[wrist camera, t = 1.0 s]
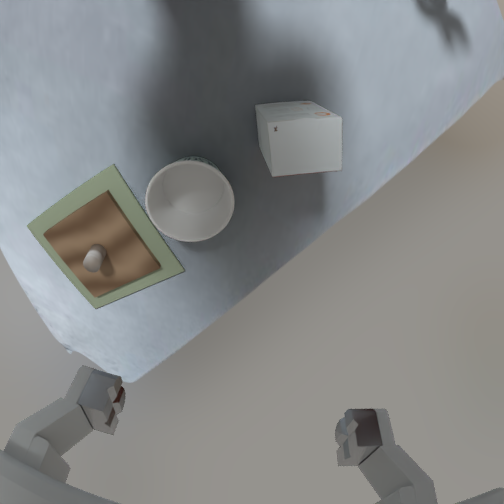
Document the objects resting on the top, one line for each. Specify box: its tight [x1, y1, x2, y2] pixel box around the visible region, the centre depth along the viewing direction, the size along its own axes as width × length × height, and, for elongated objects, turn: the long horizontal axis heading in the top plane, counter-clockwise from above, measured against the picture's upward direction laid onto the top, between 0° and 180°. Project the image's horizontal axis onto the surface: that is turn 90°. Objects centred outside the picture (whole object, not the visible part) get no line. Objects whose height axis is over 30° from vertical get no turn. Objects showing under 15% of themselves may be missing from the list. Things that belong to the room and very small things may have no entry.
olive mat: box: [27, 164, 185, 309], centre depth 51 cm, size 22×22×1 cm
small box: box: [255, 101, 342, 177], centre depth 37 cm, size 8×6×13 cm
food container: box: [145, 156, 235, 242], centre depth 44 cm, size 12×12×6 cm
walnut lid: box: [43, 190, 161, 297], centre depth 49 cm, size 16×16×5 cm
